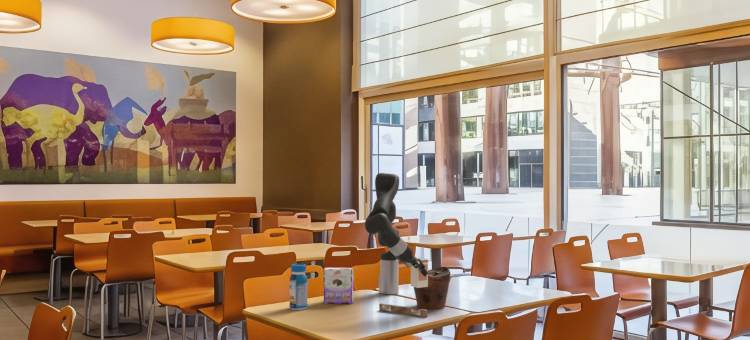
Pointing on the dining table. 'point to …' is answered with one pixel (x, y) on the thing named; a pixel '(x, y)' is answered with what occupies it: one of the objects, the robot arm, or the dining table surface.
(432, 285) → the brown round rimmed container
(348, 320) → the dining table surface
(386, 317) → the dining table surface
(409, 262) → the robot arm
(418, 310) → the rail
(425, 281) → the sugar carton
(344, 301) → the candy box
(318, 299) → the dining table surface
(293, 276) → the beverage bottle
